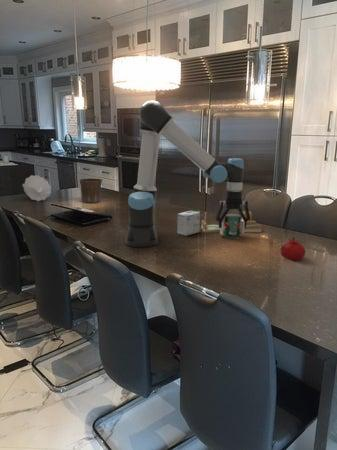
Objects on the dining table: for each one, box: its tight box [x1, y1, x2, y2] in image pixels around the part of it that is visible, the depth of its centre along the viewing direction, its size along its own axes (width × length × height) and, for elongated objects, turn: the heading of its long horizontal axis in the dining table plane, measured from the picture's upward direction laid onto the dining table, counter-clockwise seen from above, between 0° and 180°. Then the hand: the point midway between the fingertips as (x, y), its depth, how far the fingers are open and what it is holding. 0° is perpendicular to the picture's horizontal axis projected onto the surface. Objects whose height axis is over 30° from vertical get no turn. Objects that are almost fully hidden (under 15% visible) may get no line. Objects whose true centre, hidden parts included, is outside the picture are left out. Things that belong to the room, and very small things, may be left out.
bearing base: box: [201, 217, 262, 234], centre depth 199 cm, size 10×30×8 cm, turn 96°
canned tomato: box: [223, 213, 242, 239], centre depth 187 cm, size 8×8×11 cm
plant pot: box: [78, 178, 103, 204], centre depth 268 cm, size 16×16×16 cm
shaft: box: [240, 210, 253, 225], centre depth 199 cm, size 4×9×8 cm, turn 96°
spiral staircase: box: [21, 174, 52, 202], centre depth 276 cm, size 18×18×25 cm
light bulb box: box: [177, 210, 201, 236], centre depth 192 cm, size 11×7×11 cm, turn 135°
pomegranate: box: [280, 236, 306, 262], centre depth 156 cm, size 10×10×9 cm
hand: (231, 233), depth 188 cm, fingers open, 10 cm apart
